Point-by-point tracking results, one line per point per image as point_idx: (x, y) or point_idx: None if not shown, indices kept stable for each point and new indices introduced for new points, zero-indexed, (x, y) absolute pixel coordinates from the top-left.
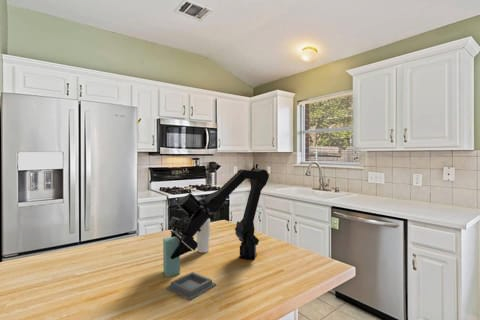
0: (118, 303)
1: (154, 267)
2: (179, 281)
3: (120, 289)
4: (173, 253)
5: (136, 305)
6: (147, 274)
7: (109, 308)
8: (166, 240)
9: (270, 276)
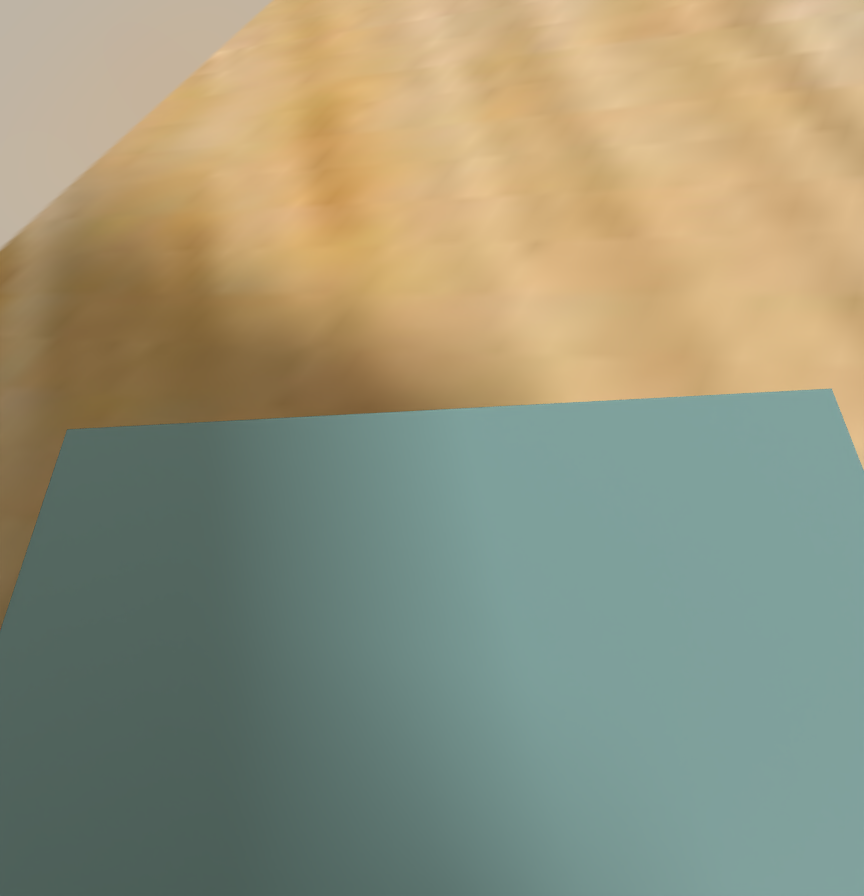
0: (145, 243)
1: None
2: None
3: (351, 247)
4: None
5: (26, 339)
6: None
7: (123, 204)
8: (355, 494)
9: None
